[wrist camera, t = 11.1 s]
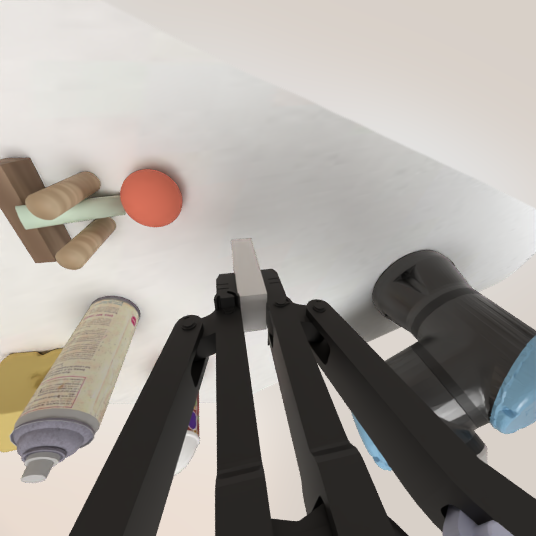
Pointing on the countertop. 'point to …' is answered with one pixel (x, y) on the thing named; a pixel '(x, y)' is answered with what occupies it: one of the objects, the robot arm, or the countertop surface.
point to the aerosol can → (75, 388)
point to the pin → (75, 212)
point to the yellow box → (20, 388)
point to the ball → (151, 198)
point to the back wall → (15, 193)
